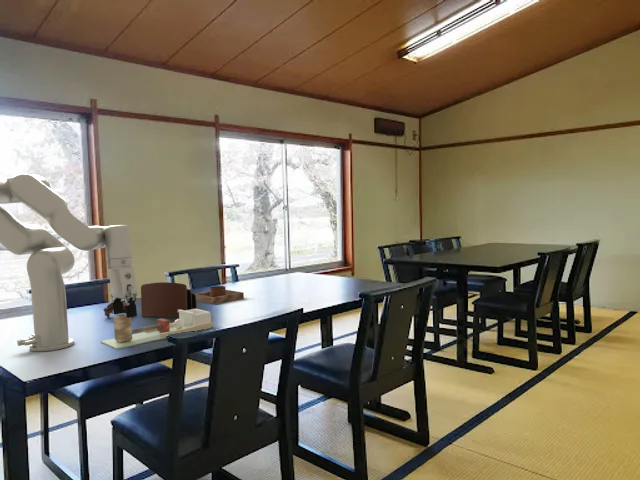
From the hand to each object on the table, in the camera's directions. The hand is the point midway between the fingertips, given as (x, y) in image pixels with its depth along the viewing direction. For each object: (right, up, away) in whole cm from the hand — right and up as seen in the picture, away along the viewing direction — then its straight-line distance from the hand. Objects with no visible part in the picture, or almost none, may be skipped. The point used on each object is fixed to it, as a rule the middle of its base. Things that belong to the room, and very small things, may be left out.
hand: (125, 315), depth 158 cm
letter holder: (+1, -7, +43) cm, 44 cm away
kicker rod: (+4, -8, +5) cm, 10 cm away
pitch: (+8, -8, +9) cm, 15 cm away
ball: (+13, -5, +15) cm, 20 cm away
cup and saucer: (+15, -4, +73) cm, 75 cm away
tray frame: (+15, -4, +73) cm, 75 cm away
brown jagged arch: (-19, -7, +41) cm, 46 cm away
